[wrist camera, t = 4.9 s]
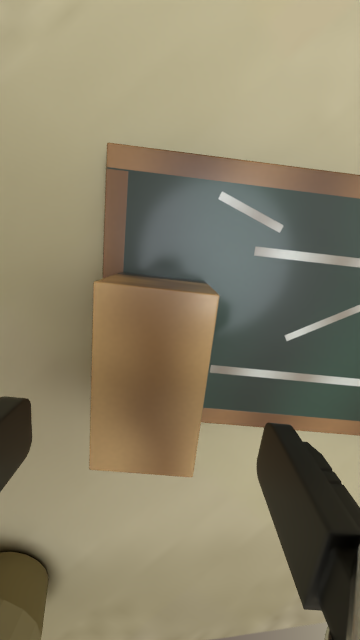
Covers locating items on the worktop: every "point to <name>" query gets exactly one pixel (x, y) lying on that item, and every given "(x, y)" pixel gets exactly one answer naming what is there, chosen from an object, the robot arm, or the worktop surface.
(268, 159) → the worktop surface
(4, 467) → the robot arm
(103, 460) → the eraser
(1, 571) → the squeeze bottle
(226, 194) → the chalkboard
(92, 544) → the worktop surface
